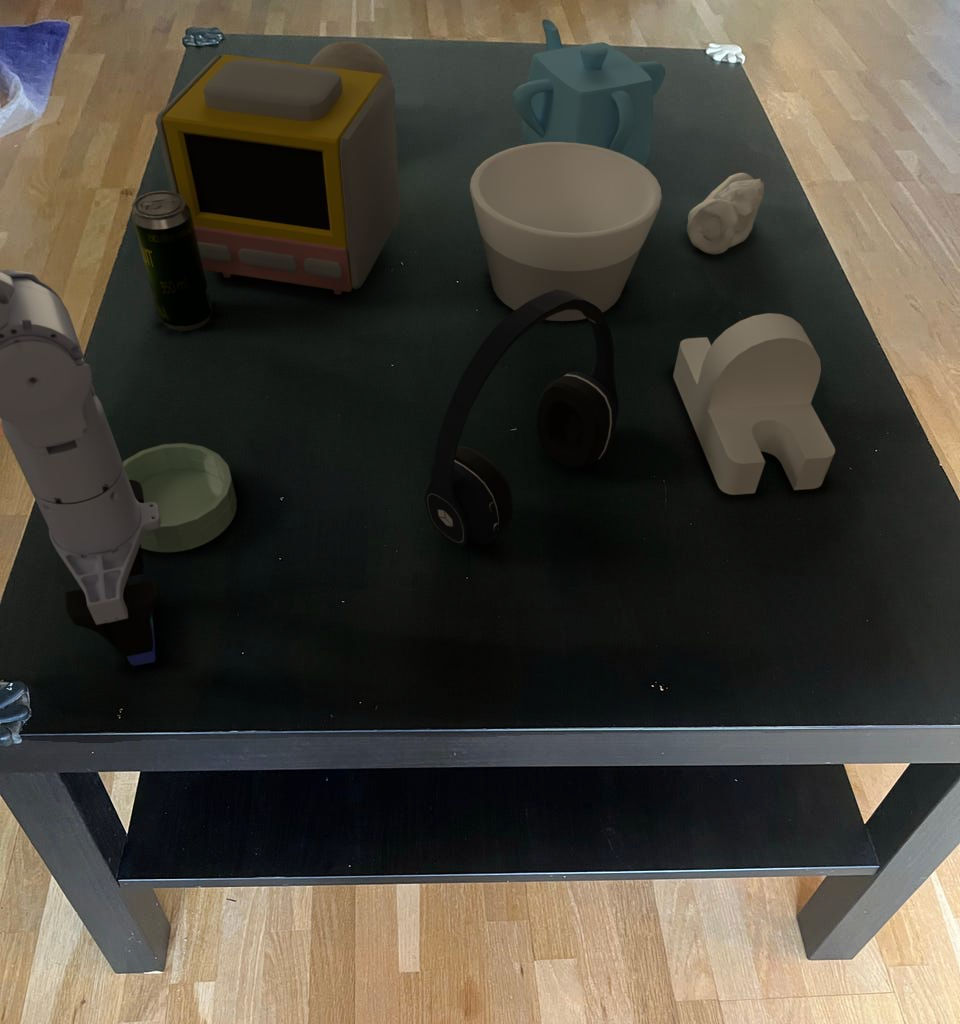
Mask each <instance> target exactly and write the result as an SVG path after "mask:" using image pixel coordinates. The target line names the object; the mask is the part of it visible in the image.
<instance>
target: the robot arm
mask: <svg viewBox="0 0 960 1024" xmlns="http://www.w3.org/2000/svg"><path fill="white" fill-rule="evenodd" d="M95 393H96V392H95V388H94V384H93V372H92V368H91V365H90V364H89V363H87V362H86V358H85V356H84V352H83V350H82V347H81V344H80V341H79V338H78V336H77V332H76V330H75V327H74V323H73V320H72V318H71V315H70V312H69V310H68V308H67V307H66V305H65V303H64V302H63V300H62V298H61V297H60V296H59V295H58V294H57V292H55V290H54V289H53V288H52V287H50V286H49V285H48V284H46V283H44V282H43V281H41V280H40V279H39V278H38V277H37V275H35V274H34V273H33V272H28V271H26V270H25V271H24V270H17V269H2V270H0V420H1V428H2V432H3V434H4V437H5V439H6V441H7V442H8V445H9V447H10V449H11V451H12V453H13V455H14V457H15V459H16V462H17V464H18V466H19V468H20V470H21V472H22V474H23V476H24V479H25V481H26V483H27V485H28V487H29V489H30V492H31V494H32V496H33V498H34V500H35V502H36V504H37V506H38V508H39V511H40V513H41V515H42V518H43V519H44V521H45V523H46V525H47V527H48V535H49V539H50V541H51V543H52V545H53V548H54V549H55V551H56V552H57V554H58V555H59V557H60V558H61V560H62V561H63V563H64V564H65V566H66V567H67V569H68V571H69V572H70V574H71V575H72V576H73V578H74V579H75V581H76V583H77V584H78V585H79V587H80V589H76V590H71V591H66V592H65V595H64V596H65V610H66V613H67V615H68V617H69V619H70V621H71V622H72V623H73V624H74V625H75V626H79V627H82V628H85V629H88V630H91V631H93V632H94V633H97V634H98V635H100V636H101V637H102V638H103V639H104V640H106V641H107V642H108V644H110V645H111V646H112V647H113V649H115V650H116V651H117V652H118V653H119V654H121V656H123V657H124V658H127V657H128V656H133V655H137V654H142V653H146V652H151V651H152V650H153V637H152V629H151V623H150V619H151V615H152V616H153V612H154V610H155V609H156V605H157V595H158V594H157V588H156V582H155V581H156V580H155V579H151V580H147V581H141V582H136V583H132V584H129V583H128V582H127V581H128V579H129V577H135V576H139V575H144V558H143V557H144V556H143V550H142V549H143V548H141V541H142V538H143V536H144V534H145V533H146V532H147V531H149V530H153V529H156V528H158V527H159V526H160V525H161V518H160V512H159V509H158V506H157V504H156V503H154V502H148V503H144V497H143V490H142V487H141V484H140V483H139V482H137V481H135V480H129V479H128V477H127V474H126V471H125V469H124V466H123V459H122V458H121V455H120V452H119V449H118V446H117V443H116V440H115V438H114V435H113V432H112V430H111V427H110V423H109V422H108V421H109V420H108V418H107V416H106V413H105V410H104V406H103V404H102V403H101V400H100V398H99V397H98V395H96V394H95Z"/></svg>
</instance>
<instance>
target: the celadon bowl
mask: <svg viewBox="0 0 960 1024" xmlns="http://www.w3.org/2000/svg"><path fill="white" fill-rule="evenodd" d="M122 463H123V466H124V469H125V471H126V474H127V477H128V479H129V480H135V481H137V482H139V483H140V484H141V487H142V490H143V497H144V503H148V502H154V503H156V504H157V506H158V509H159V512H160V518H161V525H160V526H159V527H158V528H156V529H153V530H149V531H147V532H146V533H145V534H144V536H143V538H142V541H141V549H143V550H146V551H149V552H157V553H178V552H185V551H188V550H192V549H195V548H198V547H200V546H203V545H205V544H208V543H209V542H211V541H213V540H215V539H216V538H217V537H218V536H220V535H221V534H222V533H223V532H225V531H226V530H227V528H228V527H229V526H230V524H231V523H232V521H233V519H234V518H235V516H236V512H237V506H238V501H237V495H236V491H235V486H234V481H233V478H232V473H231V469H230V466H229V464H228V463H227V462H226V461H225V460H224V459H223V457H222V456H221V455H220V454H219V453H218V452H216V451H213V450H211V449H209V448H208V447H205V446H203V445H197V444H191V443H185V442H177V443H162V444H160V445H156V446H152V447H149V448H146V449H143V450H140V451H139V452H137V453H135V454H133V455H132V456H130V457H128V458H126V459H125V460H124V461H122Z"/></svg>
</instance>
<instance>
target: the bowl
mask: <svg viewBox="0 0 960 1024" xmlns="http://www.w3.org/2000/svg"><path fill="white" fill-rule="evenodd" d="M469 193H470V196H471V200H472V201H471V202H472V205H473V208H474V215H475V218H476V222H477V227H478V230H479V234H480V238H481V241H482V246H483V250H484V255H485V260H486V264H487V267H488V272H489V276H490V281H491V285H492V289H493V291H494V294H495V295H496V296H497V298H498V299H499V300H500V301H501V302H502V303H503V304H504V305H505V306H507V307H509V308H510V309H512V310H513V311H515V310H516V309H518V308H519V307H521V306H522V305H524V304H525V303H527V302H528V301H530V300H532V299H534V298H536V297H538V296H540V295H542V294H544V293H547V292H551V291H554V290H564V291H569V292H571V293H573V294H575V295H577V296H578V297H580V298H582V299H584V300H586V301H588V302H590V303H592V304H594V305H595V306H597V307H598V308H599V309H600V310H601V311H602V313H604V312H606V311H608V310H610V308H611V307H613V306H614V305H615V304H617V303H616V302H617V301H618V300H619V299H620V297H621V295H622V292H623V291H624V288H625V285H626V284H627V281H628V279H629V276H630V274H631V272H632V270H633V267H634V265H635V263H636V261H637V259H638V256H639V254H640V252H641V250H642V247H643V245H644V244H645V242H646V239H647V237H648V235H649V232H650V231H651V228H652V226H653V223H654V221H655V219H656V217H657V214H658V213H659V211H660V209H661V208H660V206H661V204H662V201H663V194H662V187H661V185H660V184H659V181H658V179H657V178H656V177H655V175H653V173H652V172H651V171H650V170H649V169H648V168H647V167H644V166H642V165H641V164H640V163H638V162H637V161H635V160H633V159H631V158H629V157H627V156H625V155H623V154H620V153H617V152H614V151H612V150H609V149H605V148H601V147H597V146H592V145H586V144H579V143H566V142H546V143H535V144H527V145H526V144H522V145H518V146H514V147H511V148H507V149H504V150H502V151H500V152H496V153H494V154H493V155H492V156H490V157H488V158H487V159H485V160H484V161H482V163H480V165H478V166H477V167H476V169H475V170H474V173H473V174H472V175H471V178H470V182H469ZM585 319H586V320H587V318H586V317H585V315H584V314H583V313H582V312H581V311H579V310H565V311H562V312H559V313H556V314H554V315H552V316H550V317H548V318H546V319H545V320H544V321H553V322H569V321H574V322H575V321H580V320H585Z"/></svg>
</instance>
